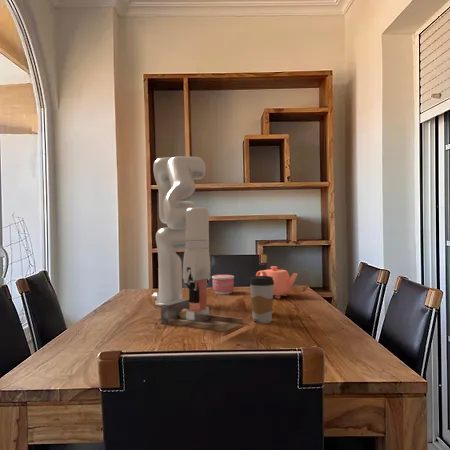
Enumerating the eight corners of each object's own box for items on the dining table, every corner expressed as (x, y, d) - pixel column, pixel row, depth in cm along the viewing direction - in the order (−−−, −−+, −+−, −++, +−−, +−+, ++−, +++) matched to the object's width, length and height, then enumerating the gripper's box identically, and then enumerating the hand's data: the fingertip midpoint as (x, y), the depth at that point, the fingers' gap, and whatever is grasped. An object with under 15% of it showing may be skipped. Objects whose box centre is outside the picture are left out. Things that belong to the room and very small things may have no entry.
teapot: (298, 298, 195) (298, 267, 195) (262, 301, 190) (261, 269, 190) (284, 292, 211) (283, 264, 210) (249, 295, 206) (249, 265, 206)
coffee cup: (276, 319, 156) (276, 276, 156) (271, 324, 148) (270, 279, 148) (253, 317, 159) (253, 275, 158) (246, 323, 151) (246, 278, 150)
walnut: (177, 322, 149) (175, 310, 149) (184, 320, 152) (182, 308, 153) (187, 321, 147) (184, 309, 147) (194, 318, 150) (191, 307, 151)
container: (234, 294, 207) (234, 277, 206) (211, 295, 207) (211, 277, 207) (234, 291, 217) (234, 274, 217) (212, 291, 217) (212, 274, 217)
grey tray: (161, 326, 147) (160, 304, 147) (182, 319, 158) (182, 298, 157) (224, 335, 135) (224, 311, 135) (243, 326, 146) (243, 304, 145)
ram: (185, 323, 144) (184, 280, 144) (200, 318, 152) (200, 276, 152) (195, 325, 142) (195, 281, 142) (210, 319, 150) (210, 277, 150)
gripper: (201, 243, 156) (202, 296, 156) (172, 246, 141) (173, 305, 142) (220, 244, 152) (221, 298, 152) (192, 247, 138) (193, 307, 138)
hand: (198, 300), depth 147 cm, fingers closed on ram, 4 cm apart
